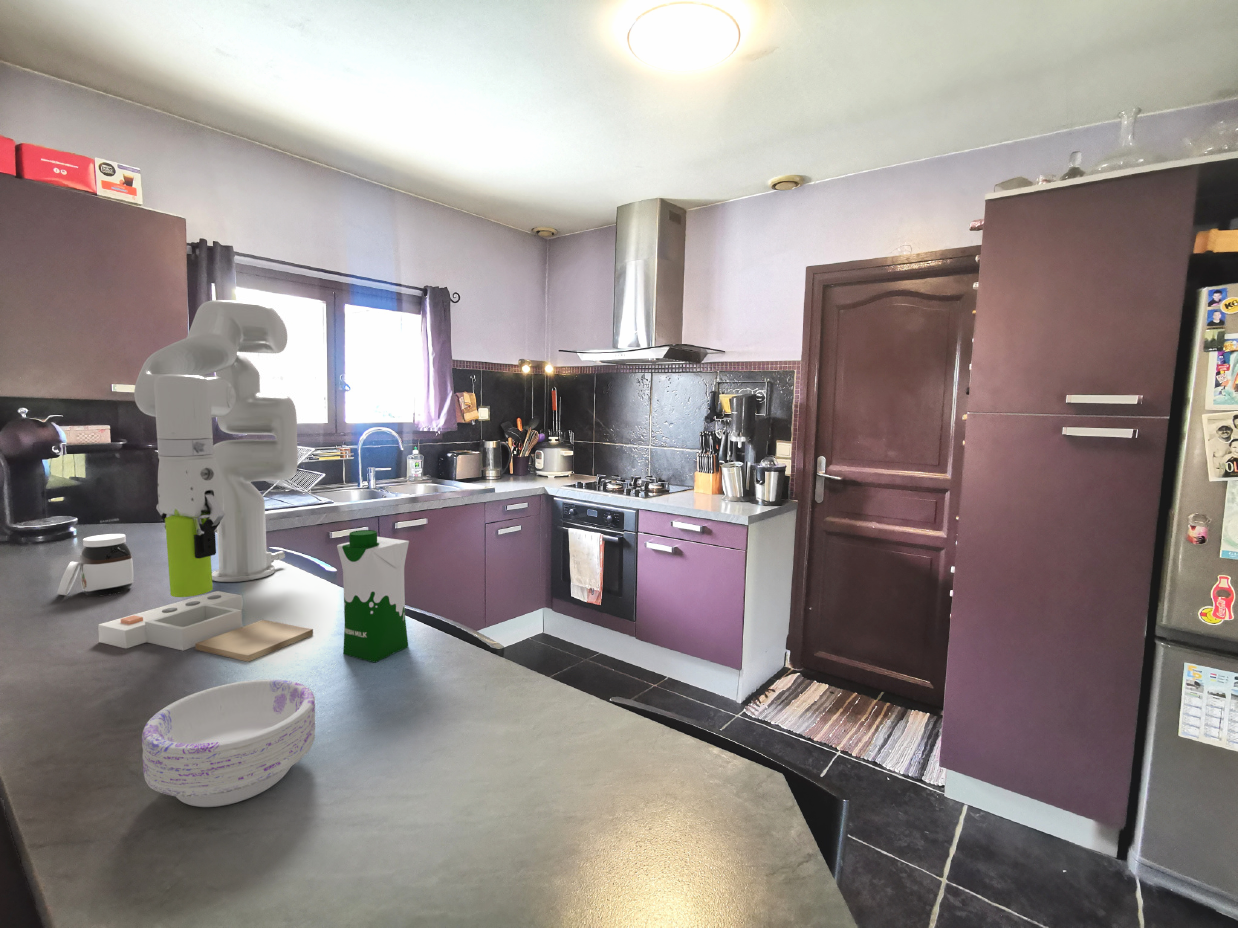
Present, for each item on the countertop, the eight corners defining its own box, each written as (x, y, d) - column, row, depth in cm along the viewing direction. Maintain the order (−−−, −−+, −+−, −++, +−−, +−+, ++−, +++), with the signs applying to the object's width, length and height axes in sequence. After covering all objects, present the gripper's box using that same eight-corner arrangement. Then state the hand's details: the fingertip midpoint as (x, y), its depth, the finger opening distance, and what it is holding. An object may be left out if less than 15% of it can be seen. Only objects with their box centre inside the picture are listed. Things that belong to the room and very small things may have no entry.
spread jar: (139, 590, 126) (136, 536, 125) (70, 604, 117) (65, 546, 116) (117, 581, 132) (114, 530, 131) (49, 594, 123) (45, 539, 122)
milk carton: (334, 655, 94) (330, 532, 93) (378, 636, 103) (376, 522, 101) (374, 666, 91) (371, 538, 89) (417, 645, 99) (415, 527, 97)
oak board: (263, 624, 107) (263, 619, 107) (313, 634, 103) (312, 629, 103) (195, 649, 96) (195, 643, 96) (248, 661, 92) (247, 655, 92)
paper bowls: (347, 749, 69) (345, 683, 68) (235, 841, 54) (230, 758, 53) (238, 731, 72) (235, 669, 71) (105, 814, 57) (99, 736, 57)
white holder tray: (217, 605, 117) (217, 587, 117) (277, 616, 111) (276, 598, 111) (99, 641, 98) (97, 620, 98) (163, 657, 93) (162, 635, 92)
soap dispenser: (225, 585, 105) (218, 473, 103) (194, 598, 98) (185, 478, 96) (194, 583, 106) (187, 472, 103) (161, 596, 99) (152, 477, 96)
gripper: (243, 450, 100) (248, 554, 102) (175, 445, 106) (181, 544, 108) (198, 453, 93) (204, 565, 95) (127, 448, 99) (135, 553, 101)
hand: (192, 553), depth 101 cm, fingers closed on soap dispenser, 5 cm apart
